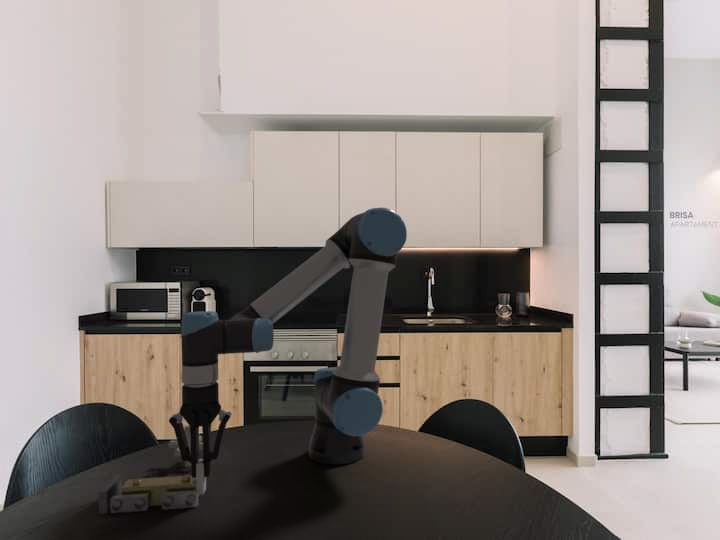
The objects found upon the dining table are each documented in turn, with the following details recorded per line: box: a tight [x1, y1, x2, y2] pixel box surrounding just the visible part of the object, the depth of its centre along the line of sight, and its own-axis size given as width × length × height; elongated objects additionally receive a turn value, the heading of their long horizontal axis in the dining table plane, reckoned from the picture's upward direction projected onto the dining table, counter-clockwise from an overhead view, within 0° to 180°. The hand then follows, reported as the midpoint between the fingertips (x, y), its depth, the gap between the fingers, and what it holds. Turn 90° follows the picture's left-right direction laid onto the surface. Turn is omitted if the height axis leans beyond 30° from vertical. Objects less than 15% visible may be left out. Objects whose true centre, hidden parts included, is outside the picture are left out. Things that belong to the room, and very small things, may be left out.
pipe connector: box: [168, 424, 203, 468], centre depth 116 cm, size 10×10×10 cm
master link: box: [121, 474, 200, 507], centre depth 98 cm, size 15×4×5 cm, turn 97°
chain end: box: [161, 490, 199, 511], centre depth 99 cm, size 7×9×3 cm
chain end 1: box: [98, 474, 150, 515], centre depth 97 cm, size 9×9×4 cm
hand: (201, 491), depth 99 cm, fingers closed
